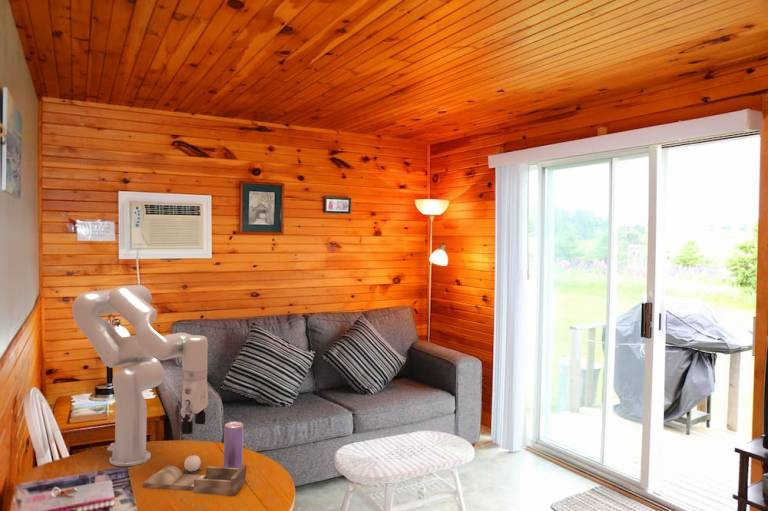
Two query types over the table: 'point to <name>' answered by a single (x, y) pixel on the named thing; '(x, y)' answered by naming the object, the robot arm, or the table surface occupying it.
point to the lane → (199, 480)
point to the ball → (192, 463)
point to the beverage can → (233, 445)
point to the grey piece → (192, 472)
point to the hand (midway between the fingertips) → (193, 428)
